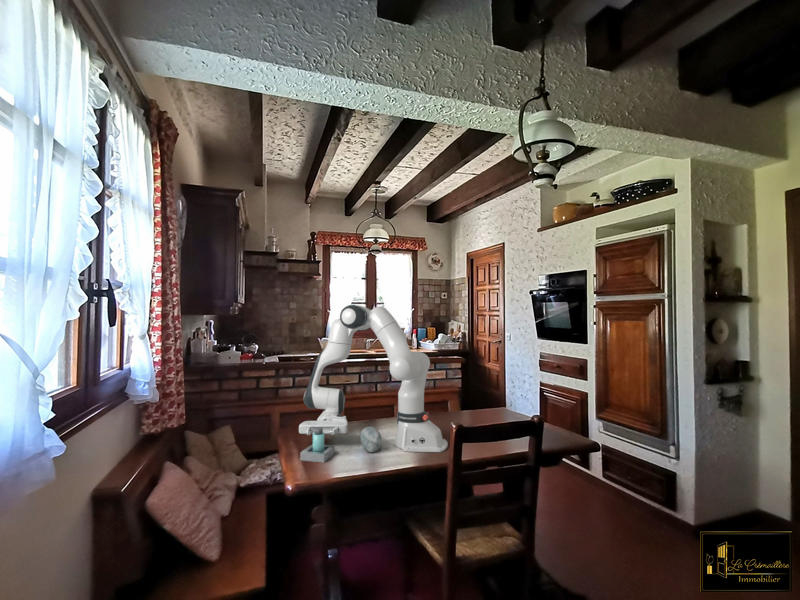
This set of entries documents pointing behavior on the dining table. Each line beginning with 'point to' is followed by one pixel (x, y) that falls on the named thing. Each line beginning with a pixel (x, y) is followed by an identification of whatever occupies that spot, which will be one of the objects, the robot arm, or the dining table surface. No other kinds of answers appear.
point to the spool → (371, 439)
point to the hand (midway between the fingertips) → (320, 433)
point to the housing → (317, 454)
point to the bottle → (318, 440)
